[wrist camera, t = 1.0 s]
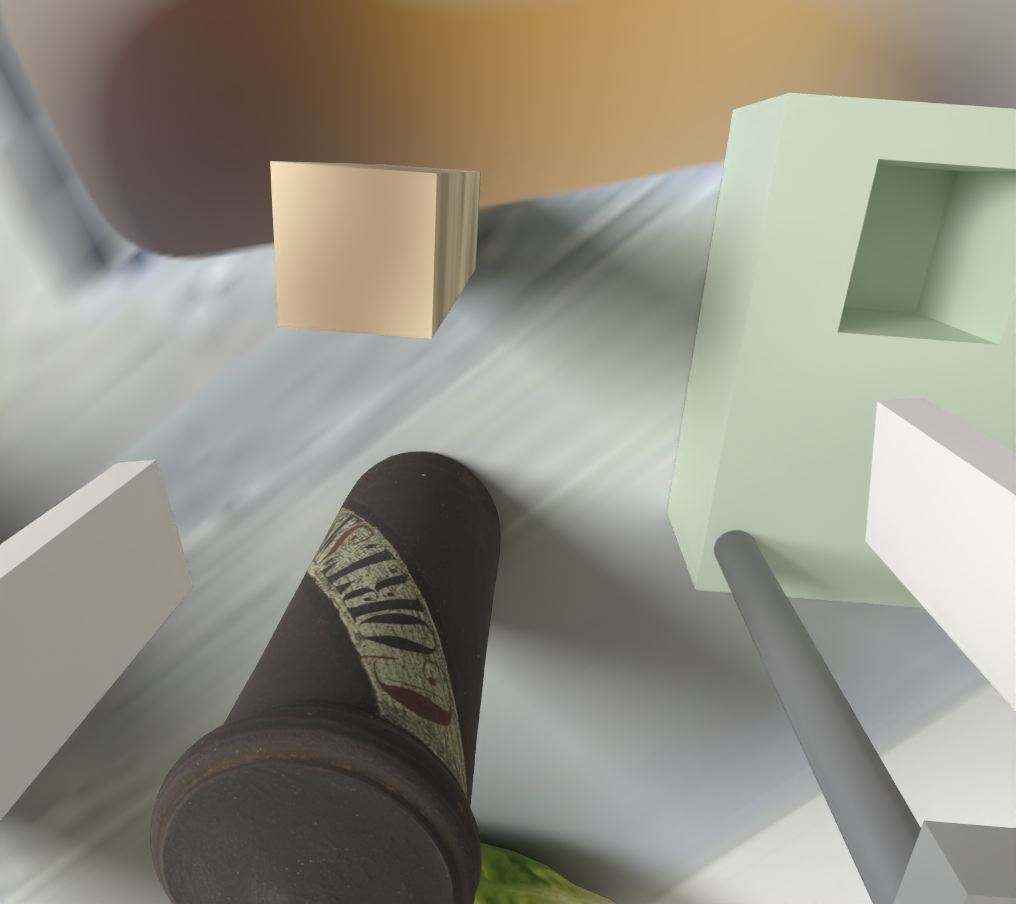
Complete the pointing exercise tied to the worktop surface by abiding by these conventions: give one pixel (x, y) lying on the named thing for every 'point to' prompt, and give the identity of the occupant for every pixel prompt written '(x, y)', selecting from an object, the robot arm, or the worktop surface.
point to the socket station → (845, 409)
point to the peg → (372, 245)
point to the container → (353, 716)
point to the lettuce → (525, 881)
